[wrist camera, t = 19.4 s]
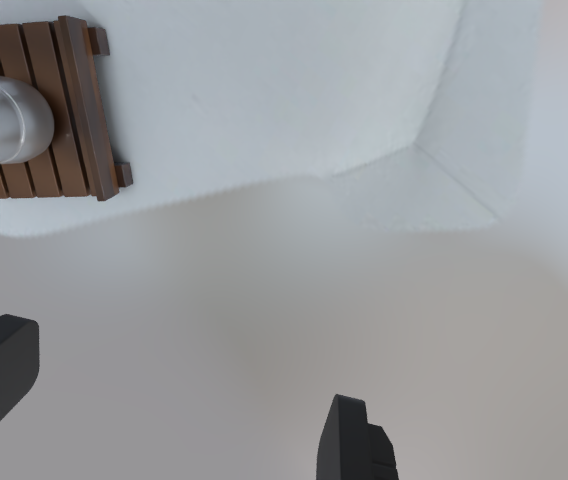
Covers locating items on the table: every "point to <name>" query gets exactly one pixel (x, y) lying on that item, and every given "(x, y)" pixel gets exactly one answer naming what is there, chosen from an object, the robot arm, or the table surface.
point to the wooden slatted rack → (62, 111)
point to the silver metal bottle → (23, 122)
